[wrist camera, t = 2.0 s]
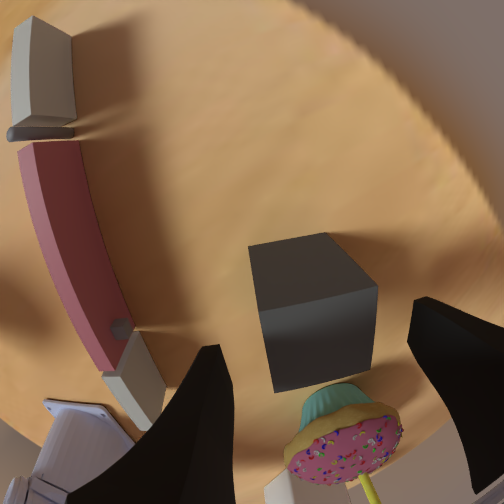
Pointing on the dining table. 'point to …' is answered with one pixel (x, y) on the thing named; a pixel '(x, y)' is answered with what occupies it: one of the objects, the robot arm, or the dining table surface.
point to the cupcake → (343, 438)
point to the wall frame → (58, 114)
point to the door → (75, 248)
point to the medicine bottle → (303, 491)
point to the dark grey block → (313, 310)
